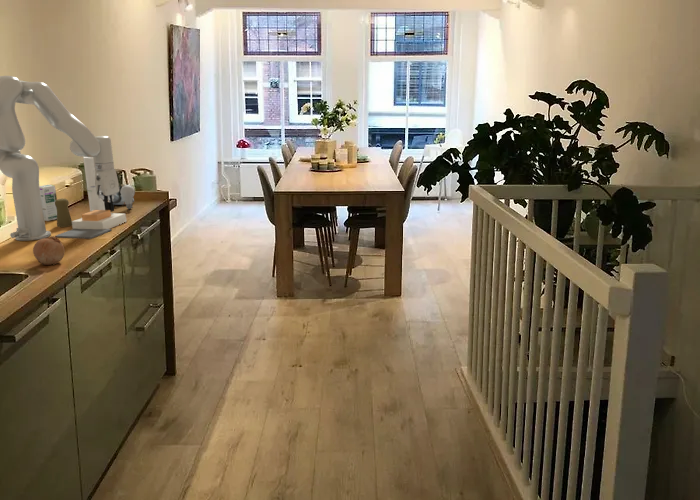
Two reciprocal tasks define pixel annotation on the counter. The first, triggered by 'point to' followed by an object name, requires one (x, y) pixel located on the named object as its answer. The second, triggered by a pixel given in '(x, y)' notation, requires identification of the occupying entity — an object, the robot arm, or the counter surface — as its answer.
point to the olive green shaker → (63, 213)
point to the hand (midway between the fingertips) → (109, 211)
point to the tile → (96, 215)
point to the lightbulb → (128, 195)
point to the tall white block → (92, 185)
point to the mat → (83, 233)
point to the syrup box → (48, 202)
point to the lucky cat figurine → (119, 198)
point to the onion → (48, 250)
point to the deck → (100, 222)
